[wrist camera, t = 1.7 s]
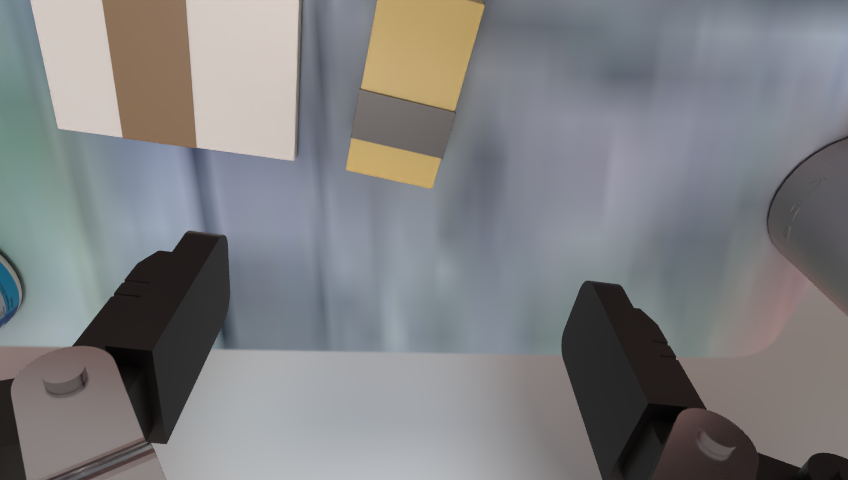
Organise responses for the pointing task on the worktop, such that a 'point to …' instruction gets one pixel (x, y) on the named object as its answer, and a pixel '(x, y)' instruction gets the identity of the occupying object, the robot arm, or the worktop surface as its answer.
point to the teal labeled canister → (8, 292)
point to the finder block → (412, 87)
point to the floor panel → (176, 71)
